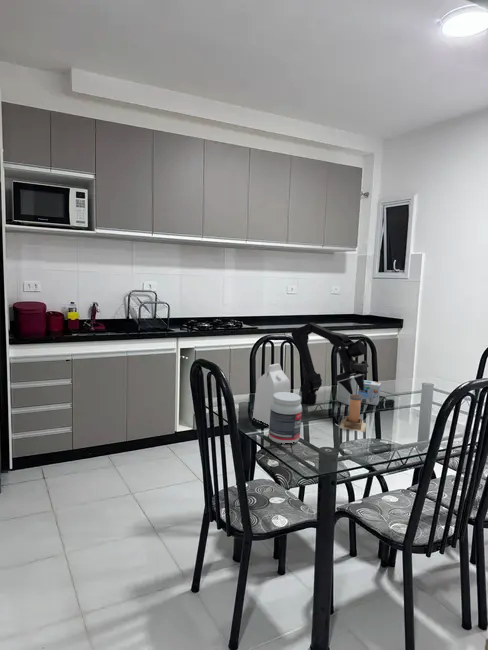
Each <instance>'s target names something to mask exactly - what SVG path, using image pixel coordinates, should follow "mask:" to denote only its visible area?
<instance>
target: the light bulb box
mask: <svg viewBox="0 0 488 650" xmlns="http://www.w3.org/2000/svg"><path fill="white" fill-rule="evenodd" d="M381 385H382V383H381V382H379V381H378V382H377V381H373V380H365V379H364V390H363V391H361V389H360V388H359V387H358V391H357V395H360V396H362V399H361V403H362V404H367V405H373V406H378V405H379V402H380V394H381V387H382V386H381Z"/></svg>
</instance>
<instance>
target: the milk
mask: <svg viewBox="0 0 488 650" xmlns="http://www.w3.org/2000/svg"><path fill="white" fill-rule="evenodd" d="M278 392H290V393H291V381H290V380H289V377H287V375H286V374H285V372H284V370H282V366H281V364H280V363H273V364H269V365H268V367H267V371H266V372H265V373H264V374H262V375H261V376H260V377H259V378H258V379H257V381H256V388H255V398H254V404H253V412H252V413H253V414H252V419H253V418H255V419H257V420H259V421H262V422H264V423H266V424H268V425H269V421H270V406H271V403H272V402H273V401H274V400H273V395H274V394H275V393H278Z"/></svg>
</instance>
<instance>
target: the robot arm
mask: <svg viewBox="0 0 488 650" xmlns="http://www.w3.org/2000/svg"><path fill="white" fill-rule="evenodd" d="M310 334H315V335H317V336H319V337H321V338H323V339H325V340H327V341H329V343H330V344H331V345H333V346H334V347H336V348H335V350H334V352H333V353H334V354H338V356H339V360H340V363H341V364H339V365H340V367H342V369H343V372H342V373H338V374H337V375H335V377H334V378H335V382H336V383H337V382H338V381H340V382H338V383H340V384H341V385H342V386H343V387H344V388H345V389H346V390H347V391H348V392H349V393H350V394H353V391H352V387H351V383H350V382H351V379H352V378H350V377H351V376H356V377H354V379H355V381H356V382H357V386H358V389H359V388H360V389H361V391H363V390H364V380H365V377H366V376H367V373H369V371H368V368H369V363H368V362H367V360H362V361H361V362H357V360H356V359H355V360H354V358H358V357H360V356H364V355H366V354H367V347H366V345H365V343H363V341H362V340H357V341H353V340H352V339H351V338H349V336H348V334H346V333H341V332H335V331H332V330H329V329H328V328H326V327H323V326H320V325H318V323H317V324H316V323H315V322H308V323H306V324H305V325H303V326H300V327H299V328H293V329H292V332H291V338H292V340H293V342H294V343H295V344H296V346H297V347H298V350H299V354H300V358H301V362H302V366H303V369H304V379H303V380H304V381H303V382H304V383H303V384H302V385H301V386H300V388H299V389H300V392H302V396H301V402H300V404H301V405H302V404H303V405H309V406H315V404H316V403H317V397H318V395H317V392H318V391H319V389H320V388H321V387H322V384H323V383H322V382H323V380H322V378H321V374H320V373H317V372H316V370H315V367H314V366H315V365H314V363H313V359H312V355H311V352H310V348H309V345H308V344H309V337H310V336H309V335H310ZM340 347H341V348H340ZM349 378H350V379H349ZM338 383H337V384H338Z"/></svg>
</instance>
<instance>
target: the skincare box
mask: <svg viewBox="0 0 488 650" xmlns="http://www.w3.org/2000/svg"><path fill="white" fill-rule="evenodd" d="M354 377H356V376H351V377H350V378H352V379H351V382H350V383H351V387H352V391H353V394H354V395H357V386H358V384H357V382H356V381H355V379H354ZM350 378H349V379H350ZM337 382H340V381H337ZM353 394H350V393H349V392H348V391H347V390H346V389H345V388H344V387H343V386H342V385H341V384H340V383H337V396H336V397H337V398H336V399H337V400H336V401H337V402H339V403H342V404H345V405H348V406H350V395H353Z"/></svg>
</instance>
